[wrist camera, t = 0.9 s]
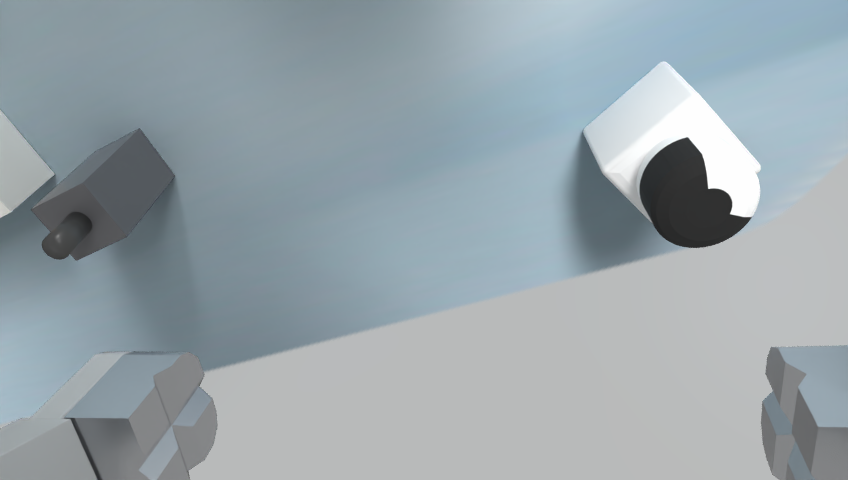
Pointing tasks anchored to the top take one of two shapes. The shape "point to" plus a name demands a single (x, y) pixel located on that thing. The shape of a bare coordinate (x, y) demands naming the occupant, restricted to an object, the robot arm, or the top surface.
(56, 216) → the plug
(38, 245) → the top surface
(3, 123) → the socket
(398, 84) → the top surface
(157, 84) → the top surface
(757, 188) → the medicine bottle
